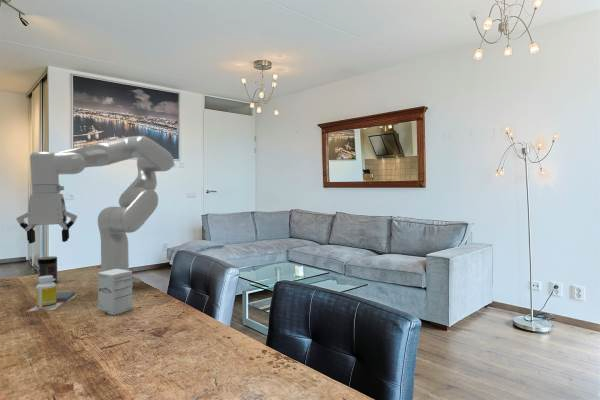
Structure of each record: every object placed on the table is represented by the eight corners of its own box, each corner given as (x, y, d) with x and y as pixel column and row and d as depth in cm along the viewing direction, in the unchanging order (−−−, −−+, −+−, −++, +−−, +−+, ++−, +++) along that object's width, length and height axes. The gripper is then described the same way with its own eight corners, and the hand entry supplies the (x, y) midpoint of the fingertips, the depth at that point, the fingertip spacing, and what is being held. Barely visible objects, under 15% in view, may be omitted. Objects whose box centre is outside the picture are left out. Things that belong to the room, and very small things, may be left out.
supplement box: (97, 312, 122) (96, 272, 121) (118, 305, 128) (117, 267, 128) (112, 315, 118) (112, 275, 118) (133, 309, 125) (132, 270, 124)
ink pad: (75, 294, 138) (75, 291, 138) (66, 301, 130) (66, 298, 130) (50, 296, 136) (50, 292, 136) (39, 303, 128) (39, 299, 128)
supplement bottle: (60, 304, 127) (59, 274, 126) (48, 309, 121) (47, 278, 121) (45, 303, 127) (44, 274, 127) (32, 309, 122) (31, 278, 121)
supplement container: (50, 280, 161) (49, 255, 161) (61, 282, 159) (61, 257, 158) (34, 284, 155) (33, 258, 155) (45, 286, 153) (44, 260, 152)
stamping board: (77, 296, 138) (77, 293, 138) (56, 313, 121) (56, 309, 121) (49, 298, 136) (49, 295, 136) (23, 314, 119) (23, 311, 119)
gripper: (78, 189, 131) (81, 238, 133) (20, 190, 127) (24, 241, 129) (71, 189, 124) (74, 242, 125) (9, 191, 120) (13, 245, 121)
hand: (48, 242), depth 127 cm, fingers open, 9 cm apart
